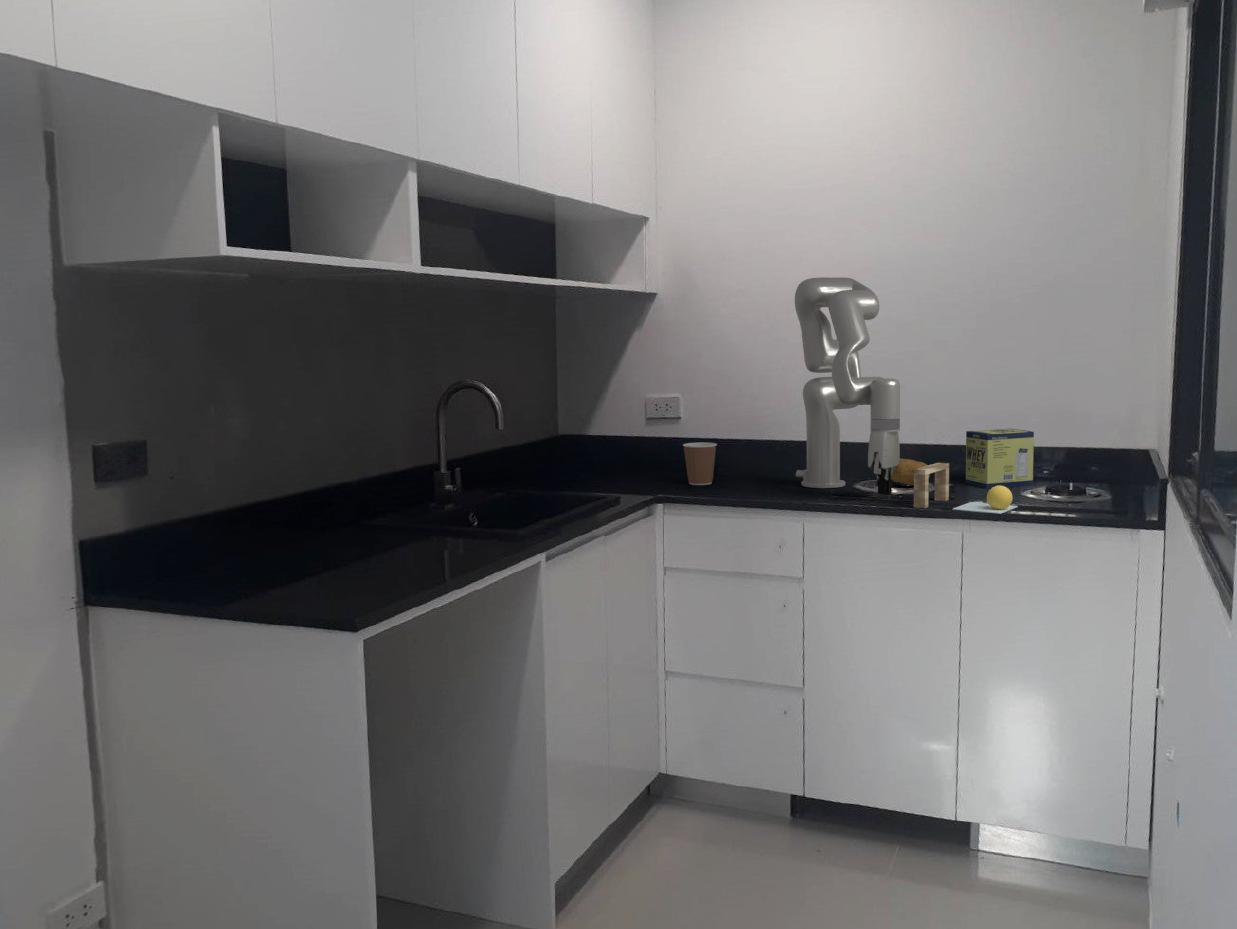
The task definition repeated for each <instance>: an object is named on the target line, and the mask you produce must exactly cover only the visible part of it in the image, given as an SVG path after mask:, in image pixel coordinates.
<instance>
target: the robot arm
mask: <svg viewBox="0 0 1237 929" xmlns="http://www.w3.org/2000/svg"><path fill="white" fill-rule="evenodd" d="M794 308H795V312H796V315H797V318H798V321H799V324H800V330H801V340H802V342H801V343H802V348H803V358H804V359H803V360H804V364H805V368H806V369H807V371H808V372H811V373H816V374H817V373H818V374H823V373H824V374H825V373H831V376H821V377H814V378H812V379H810V380H807V381H806V383H805V384H804V386H803V390H802V398H803V403H804V404H803V405H804V410H805V420H806V427H805V428H806V469H803V470H802V469H801V470H800V469H797V470H796V472H795V477H796V478H803V480H802V481H801V486H802V487H805V488H812V489H835V488H842V487H845V486H846V481H845V480H842V479H841V461H840V460H841V448H840V447H841V440H840V439H841V435H840V434H841V432H840V431H841V427H840V422H839V419H838V418H837V416H836V414H835V413H834V411H833V410H835V411H836V410H846V409H847V410H848V409H853V408H856V407H857V406H870V434H869V441H868V449H867V450H868V452H867V467H868V468H869V469H873V474H875V475H876V478H877V494H878V495H884V496H886V495H887V496H889V495H891V494H892V488H893V486H892V484H893V480H892V477H893V471H894V470H895V469H896V466H897V465H898V464H899V459H900V458H901V457H900V456H901V455H900V453H901V451H900V435H899V434H900V433H899V432H900V430H901V428H900V426H901V424H900V423H901V384H900V381H899V380H898V379H897V378H890V377H889V378H887V377H886V378H884V377H883V376H882V377H880V376H863V377H862V375H861V374H862V373H861V366H860V356H859V351H861V350H863V349H864V348H865V347H867V346H868V344H869V343H870V341H871V337H870V334H869V330H868V328H867V327H868V326H867V324H866V321H870V320H871V321H872V320H874V319H875V318H876V317H877V316H878V315H879V312H880V300H879V298H878V296H877V295H876V293H875V292H874V291H873V290H872V289H870V288H869V287H867V286H866V285H864V284H863V283H861V282H859V281H858V280H856V279H854V278H851V277H827V276H826V277H813V278H812V277H810V278H807V279H805V280H802V281H801V282H800V283H799V284H798V285H797V287H796V290H795V292H794ZM821 308H828V311H829V315H830V319H831V323H832V326H833V330H834V333H835V336H836V339H834V338H833V334H832V327H831V323H830V320H829V318H828V317H827V315H826V314H825V313H824V312H823V310H822V309H821Z"/></svg>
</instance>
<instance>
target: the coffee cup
mask: <svg viewBox="0 0 1237 929" xmlns="http://www.w3.org/2000/svg"><path fill="white" fill-rule="evenodd" d="M682 446H683V447H684V448H683V451H684V459H685V465H686V474H687V480H688V483H689V484H690V485H692V486H707V485H711V484H712V482H713V480H714V479H713V478H714V469H715V461H716V460H715V458H716V450H717V448H716V446H718V444H717V443H715V442H688V443H683V444H682Z"/></svg>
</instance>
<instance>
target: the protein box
mask: <svg viewBox="0 0 1237 929" xmlns="http://www.w3.org/2000/svg"><path fill="white" fill-rule="evenodd" d="M1034 432H1035V431H1030V430H1024V429H1017V428H999V429H997V428H996V429H984V430H967V431H966V433H965V434H966V436H965V485H969V486H973V487H977V488H983V489H985V490H988V489H989V488H991V487H993V486H1004V487H1006V488H1015V487H1027V486H1028V487H1029V486H1033V485H1034V484H1033V483H1034V451H1035V450H1034V449H1035V448H1034V444H1035V443H1034V442H1035V434H1034ZM989 490H990V489H989Z"/></svg>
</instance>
